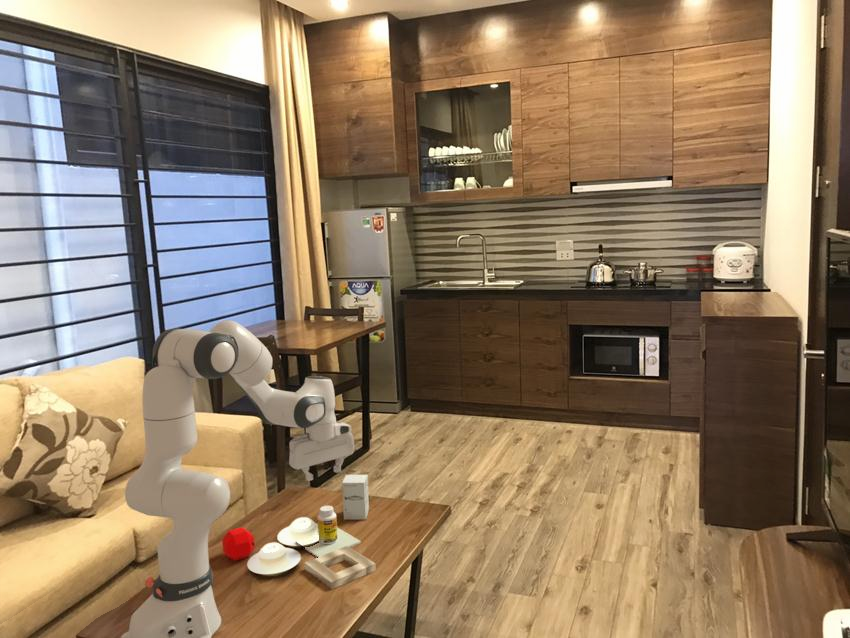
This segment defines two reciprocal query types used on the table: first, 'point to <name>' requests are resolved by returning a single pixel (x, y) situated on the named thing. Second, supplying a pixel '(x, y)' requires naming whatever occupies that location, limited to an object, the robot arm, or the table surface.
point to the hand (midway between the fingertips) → (323, 476)
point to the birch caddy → (335, 580)
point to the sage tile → (334, 544)
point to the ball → (238, 543)
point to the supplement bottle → (327, 525)
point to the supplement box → (355, 496)
